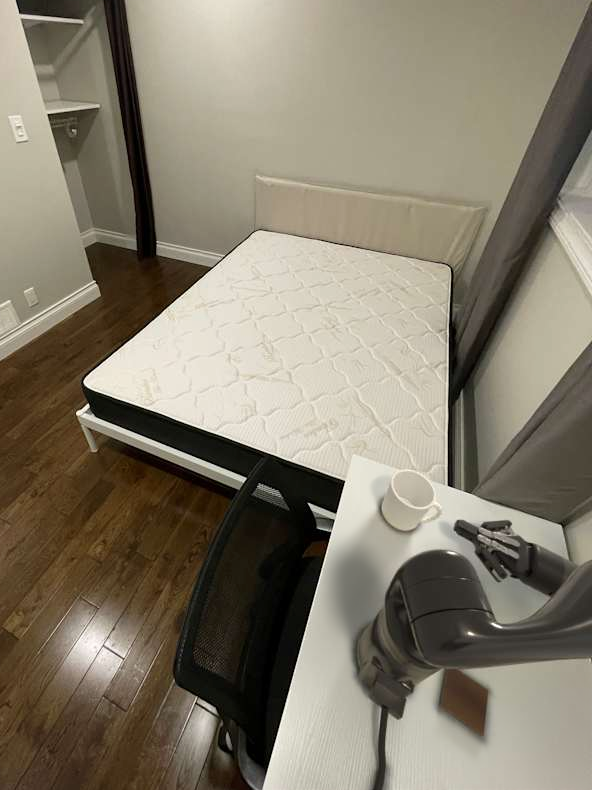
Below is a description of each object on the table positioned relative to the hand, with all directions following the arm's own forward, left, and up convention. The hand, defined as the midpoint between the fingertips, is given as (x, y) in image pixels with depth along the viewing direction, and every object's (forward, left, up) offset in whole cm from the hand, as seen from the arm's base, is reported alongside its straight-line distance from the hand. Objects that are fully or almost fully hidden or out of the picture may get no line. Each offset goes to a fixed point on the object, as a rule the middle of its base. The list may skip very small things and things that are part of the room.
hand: (455, 524), depth 74 cm
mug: (0, +9, -6) cm, 11 cm away
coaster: (-25, -7, -6) cm, 27 cm away
